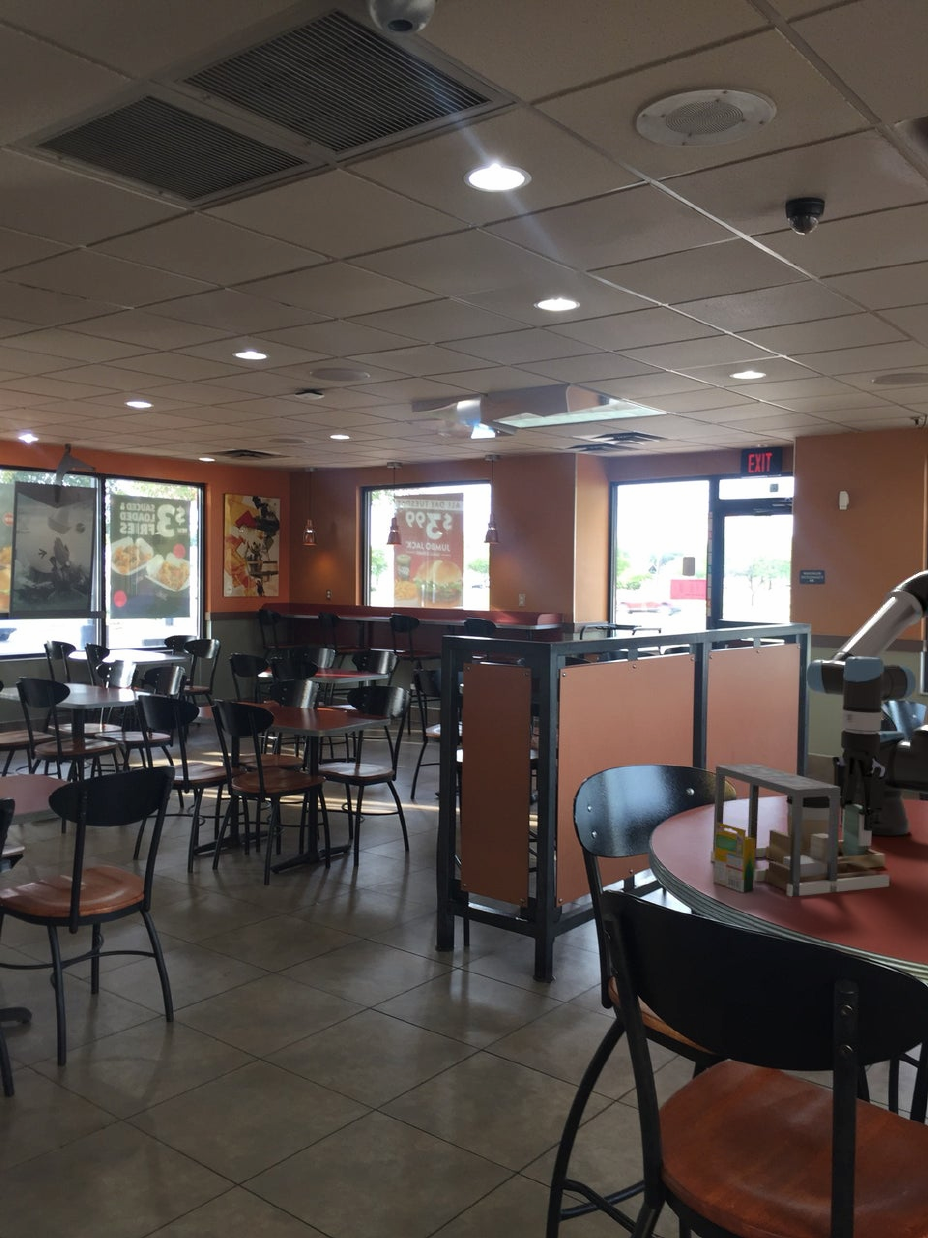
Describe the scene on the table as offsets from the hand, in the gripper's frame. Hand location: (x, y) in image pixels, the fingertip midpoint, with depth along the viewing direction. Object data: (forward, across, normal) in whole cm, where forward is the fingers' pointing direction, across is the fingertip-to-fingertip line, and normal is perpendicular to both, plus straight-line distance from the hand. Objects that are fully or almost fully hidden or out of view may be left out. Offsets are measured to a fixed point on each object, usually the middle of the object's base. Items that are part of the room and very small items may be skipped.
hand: (856, 842), depth 205 cm
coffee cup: (+4, 0, -13) cm, 13 cm away
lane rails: (+4, +5, -19) cm, 20 cm away
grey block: (+4, +12, -24) cm, 27 cm away
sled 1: (+4, 0, -8) cm, 9 cm away
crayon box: (+4, +9, -37) cm, 38 cm away
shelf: (+4, +5, -25) cm, 26 cm away
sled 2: (+4, +12, -19) cm, 23 cm away
